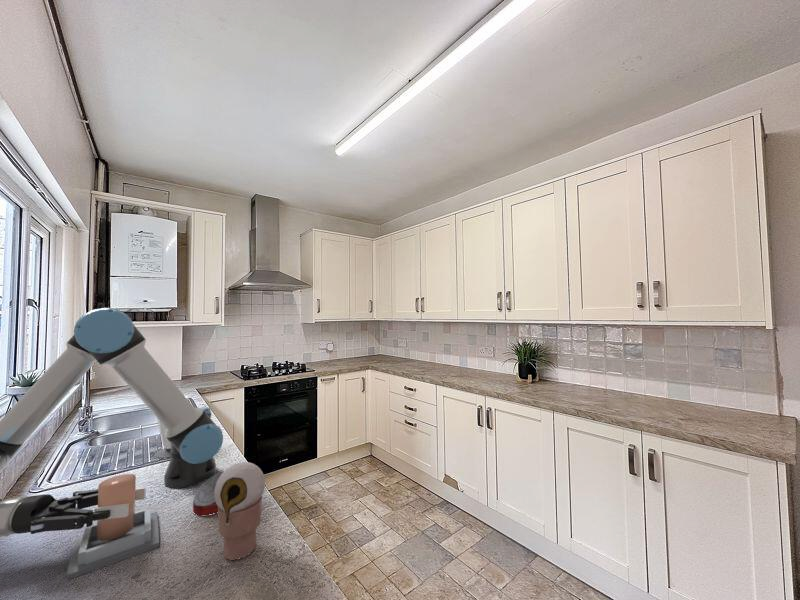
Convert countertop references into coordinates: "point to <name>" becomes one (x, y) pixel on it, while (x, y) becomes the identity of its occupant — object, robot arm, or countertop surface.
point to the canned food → (206, 497)
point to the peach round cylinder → (115, 494)
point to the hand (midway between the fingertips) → (136, 501)
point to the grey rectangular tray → (113, 545)
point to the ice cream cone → (239, 507)
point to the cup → (164, 442)
